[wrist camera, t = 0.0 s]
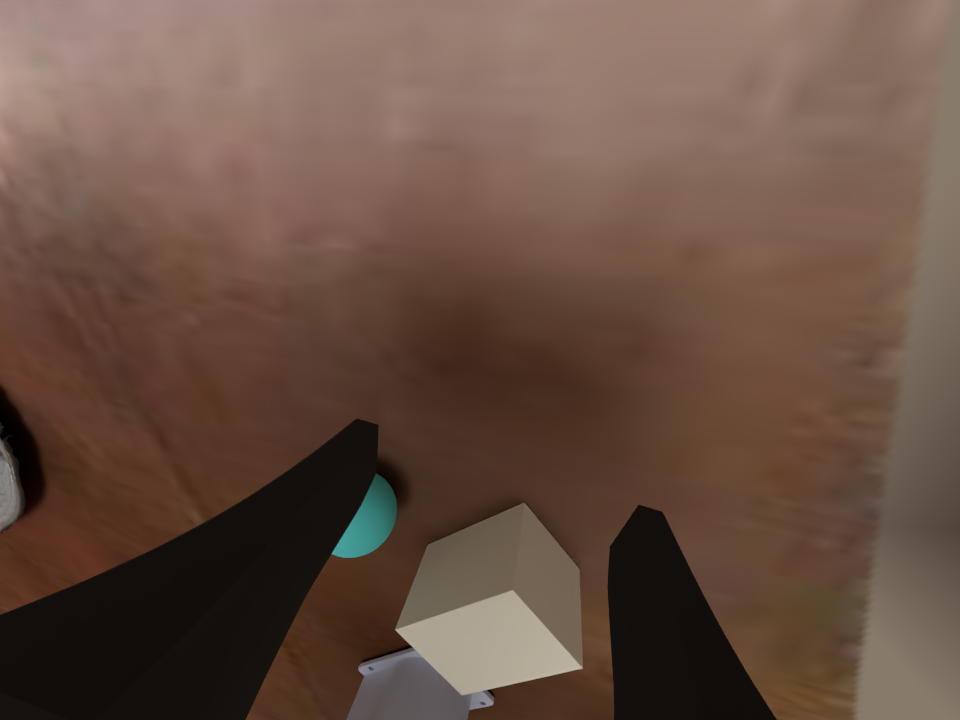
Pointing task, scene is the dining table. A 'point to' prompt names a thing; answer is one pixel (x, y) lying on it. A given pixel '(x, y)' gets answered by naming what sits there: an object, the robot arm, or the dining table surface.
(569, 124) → the dining table surface
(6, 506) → the food plate
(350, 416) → the dining table surface
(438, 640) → the cream rectangular block
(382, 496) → the ball
